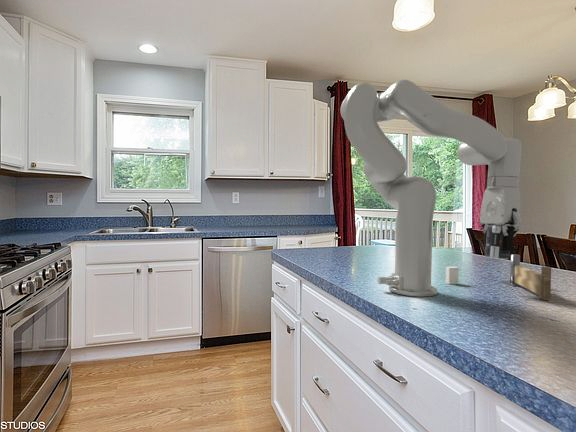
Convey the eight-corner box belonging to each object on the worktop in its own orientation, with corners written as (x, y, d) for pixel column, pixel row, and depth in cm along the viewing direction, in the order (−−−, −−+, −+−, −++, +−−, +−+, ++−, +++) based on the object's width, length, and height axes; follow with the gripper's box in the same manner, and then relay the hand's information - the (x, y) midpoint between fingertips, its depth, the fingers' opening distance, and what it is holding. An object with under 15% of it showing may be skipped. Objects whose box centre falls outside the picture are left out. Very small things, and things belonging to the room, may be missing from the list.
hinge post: (513, 286, 105) (514, 256, 104) (501, 282, 110) (501, 253, 109) (528, 285, 105) (529, 256, 105) (515, 282, 110) (516, 253, 110)
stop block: (449, 284, 106) (449, 267, 106) (445, 282, 108) (445, 266, 108) (458, 284, 107) (458, 267, 107) (454, 282, 109) (454, 266, 109)
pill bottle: (500, 259, 94) (504, 217, 93) (480, 256, 99) (483, 216, 99) (514, 259, 97) (517, 218, 96) (493, 256, 102) (496, 217, 101)
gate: (514, 283, 106) (515, 257, 105) (520, 284, 105) (520, 257, 105) (543, 299, 88) (544, 267, 88) (550, 299, 88) (551, 267, 88)
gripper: (470, 185, 105) (465, 244, 106) (514, 181, 88) (508, 252, 89) (493, 186, 106) (488, 245, 107) (540, 183, 89) (535, 253, 90)
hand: (497, 248), depth 98 cm, fingers closed on pill bottle, 6 cm apart
